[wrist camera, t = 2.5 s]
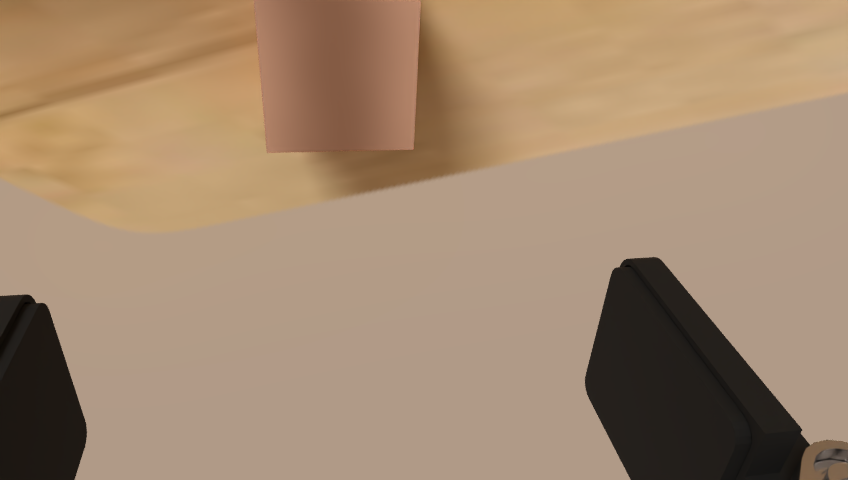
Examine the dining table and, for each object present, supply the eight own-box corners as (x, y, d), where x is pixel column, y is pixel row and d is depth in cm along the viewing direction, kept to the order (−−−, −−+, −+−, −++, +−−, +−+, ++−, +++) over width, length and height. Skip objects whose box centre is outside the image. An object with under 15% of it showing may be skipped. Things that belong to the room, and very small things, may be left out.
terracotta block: (397, -38, 25) (420, 1, 20) (393, 87, 28) (413, 149, 23) (262, -42, 24) (253, -2, 19) (272, 88, 27) (267, 152, 22)
